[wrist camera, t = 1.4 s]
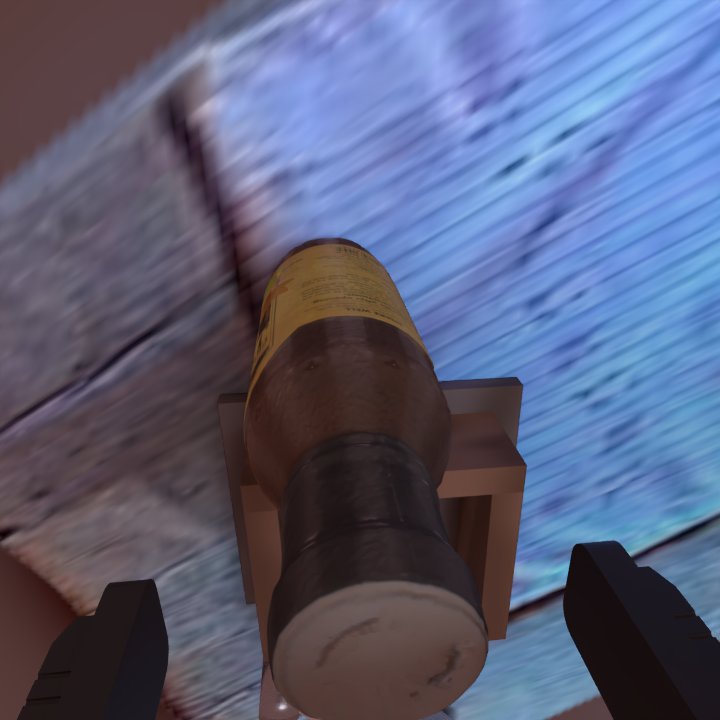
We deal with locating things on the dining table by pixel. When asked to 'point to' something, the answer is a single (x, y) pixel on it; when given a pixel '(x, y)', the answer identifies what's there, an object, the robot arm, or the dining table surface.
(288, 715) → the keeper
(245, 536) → the cradle
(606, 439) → the dining table surface
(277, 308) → the sauce bottle
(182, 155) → the dining table surface
